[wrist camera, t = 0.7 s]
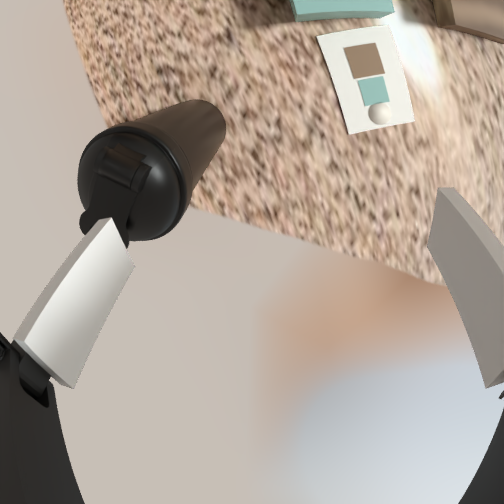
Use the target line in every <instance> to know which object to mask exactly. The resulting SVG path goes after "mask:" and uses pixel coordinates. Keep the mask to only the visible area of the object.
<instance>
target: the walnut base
mask: <svg viewBox="0 0 504 504" xmlns="http://www.w3.org/2000/svg"><path fill="white" fill-rule="evenodd" d="M432 1H433V5H434V10H435V14H436V20H437V25H438V27H442V28H447V29H451V30H456V31H460V32H464V33H468V34H472V35H475V36H479V37H482V38H486V39H489V40H492V41H495V42H498V43H501V44H504V0H432Z"/></svg>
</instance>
